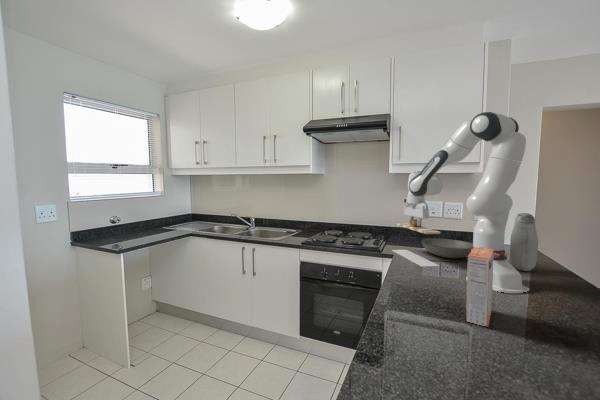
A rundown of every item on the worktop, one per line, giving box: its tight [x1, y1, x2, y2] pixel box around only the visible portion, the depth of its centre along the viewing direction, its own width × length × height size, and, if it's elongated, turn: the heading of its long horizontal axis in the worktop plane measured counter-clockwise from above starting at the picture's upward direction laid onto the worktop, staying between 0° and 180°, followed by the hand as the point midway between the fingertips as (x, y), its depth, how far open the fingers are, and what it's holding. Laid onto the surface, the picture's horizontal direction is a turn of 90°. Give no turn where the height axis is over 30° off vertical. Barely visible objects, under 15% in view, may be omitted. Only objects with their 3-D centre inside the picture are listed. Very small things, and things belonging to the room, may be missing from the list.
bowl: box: [421, 238, 473, 260], centre depth 156 cm, size 27×28×8 cm
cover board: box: [394, 218, 441, 235], centre depth 152 cm, size 33×8×5 cm, turn 7°
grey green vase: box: [509, 212, 539, 272], centre depth 131 cm, size 10×10×28 cm
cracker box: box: [465, 247, 494, 328], centre depth 85 cm, size 14×6×21 cm, turn 141°
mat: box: [391, 249, 440, 267], centre depth 154 cm, size 34×10×1 cm, turn 7°
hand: (415, 224), depth 153 cm, fingers closed on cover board, 4 cm apart
